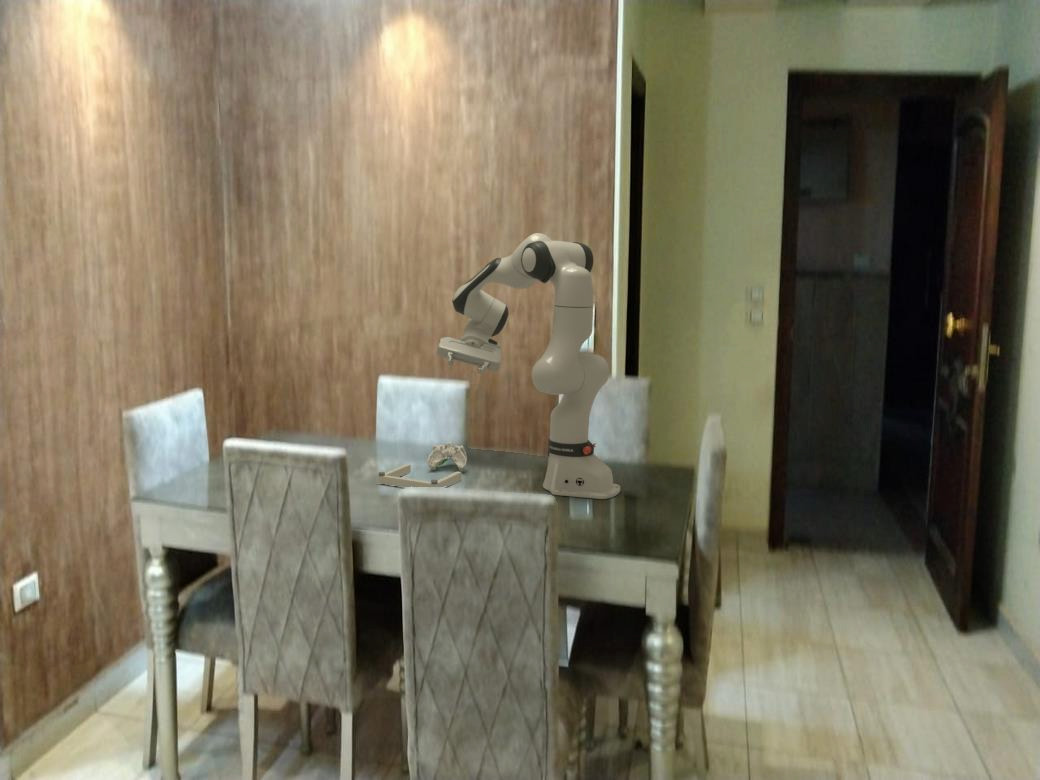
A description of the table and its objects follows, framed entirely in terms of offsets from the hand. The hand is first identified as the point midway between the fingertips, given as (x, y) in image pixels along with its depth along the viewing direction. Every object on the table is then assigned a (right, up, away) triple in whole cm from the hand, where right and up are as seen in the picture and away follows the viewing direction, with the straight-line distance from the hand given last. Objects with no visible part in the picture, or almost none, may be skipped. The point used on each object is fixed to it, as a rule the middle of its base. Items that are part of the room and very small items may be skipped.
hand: (465, 367), depth 277 cm
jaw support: (-5, -32, +4) cm, 32 cm away
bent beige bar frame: (-12, -34, -11) cm, 38 cm away
